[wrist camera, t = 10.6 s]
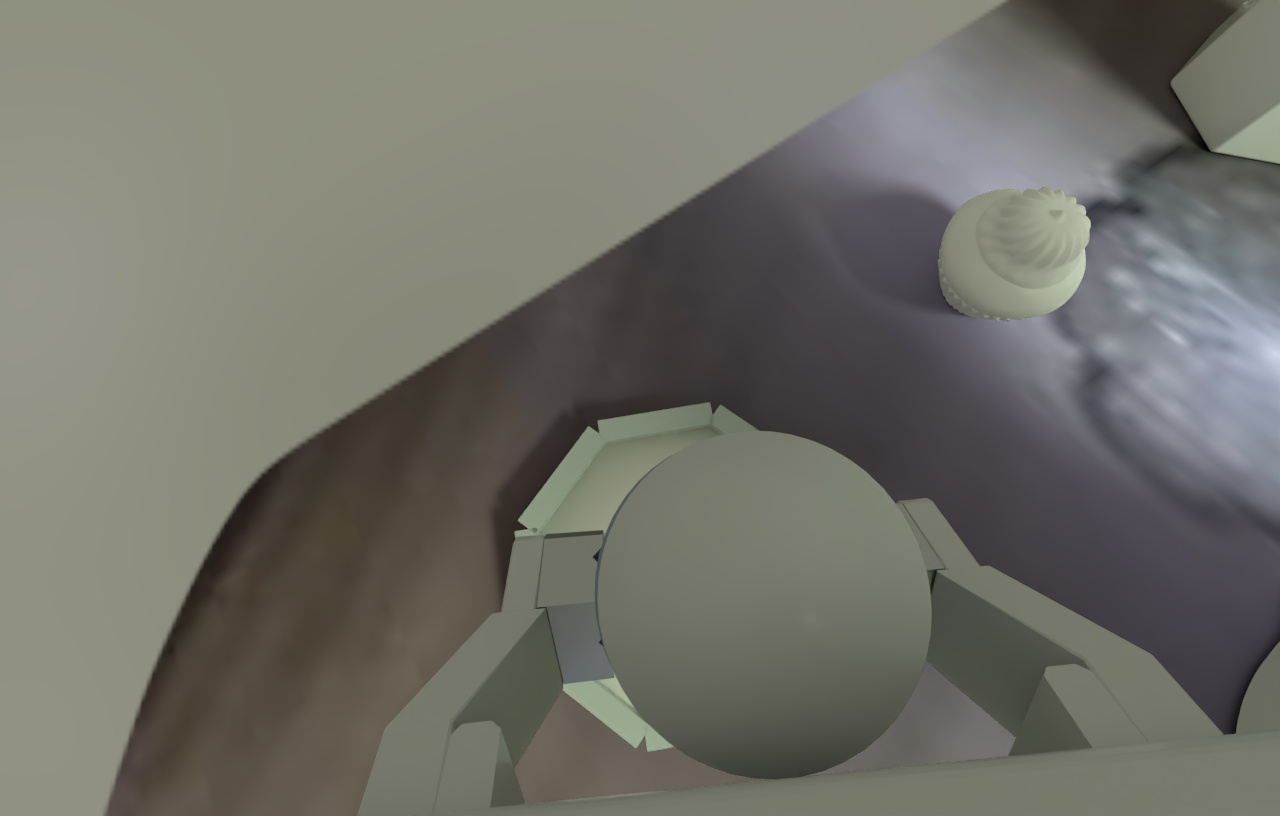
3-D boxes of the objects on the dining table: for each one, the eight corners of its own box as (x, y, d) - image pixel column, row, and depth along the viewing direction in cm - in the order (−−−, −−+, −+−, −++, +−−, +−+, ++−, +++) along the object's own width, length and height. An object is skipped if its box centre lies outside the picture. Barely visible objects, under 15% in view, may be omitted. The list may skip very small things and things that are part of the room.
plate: (795, 393, 30) (803, 384, 28) (867, 702, 26) (881, 712, 25) (509, 441, 29) (501, 434, 28) (546, 759, 26) (539, 773, 24)
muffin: (1059, 305, 31) (1177, 233, 24) (963, 367, 30) (1055, 312, 23) (980, 211, 32) (1069, 117, 25) (885, 269, 31) (951, 189, 24)
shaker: (766, 478, 15) (890, 398, 7) (802, 646, 14) (985, 754, 7) (608, 504, 15) (567, 450, 7) (634, 676, 14) (617, 819, 6)
